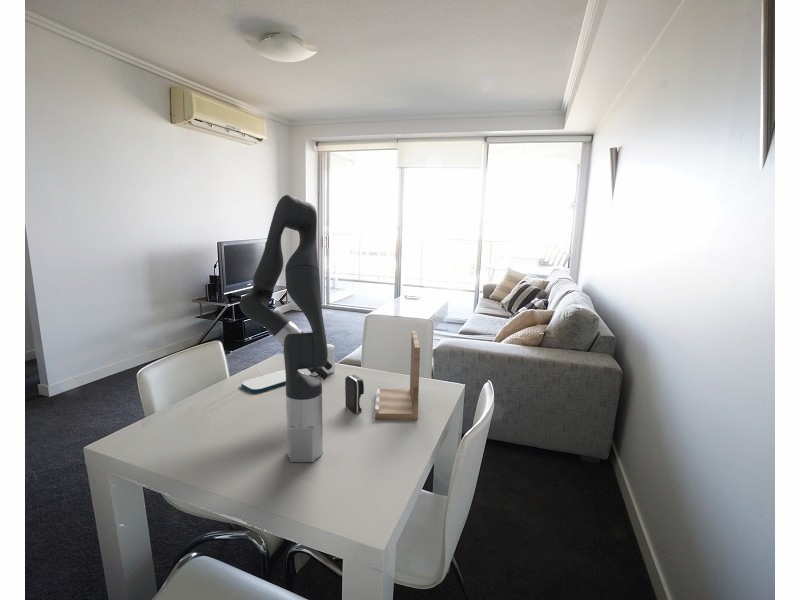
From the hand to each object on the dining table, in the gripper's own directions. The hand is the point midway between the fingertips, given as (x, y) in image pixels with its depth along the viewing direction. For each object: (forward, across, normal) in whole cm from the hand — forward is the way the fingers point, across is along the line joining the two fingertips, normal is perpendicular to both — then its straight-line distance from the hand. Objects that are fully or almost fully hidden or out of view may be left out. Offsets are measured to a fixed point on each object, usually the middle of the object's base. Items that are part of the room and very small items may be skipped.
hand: (328, 372), depth 135 cm
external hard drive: (-8, +23, +27) cm, 36 cm away
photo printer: (+4, +33, +14) cm, 36 cm away
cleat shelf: (+24, +3, -6) cm, 25 cm away
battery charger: (+15, 0, +3) cm, 15 cm away
